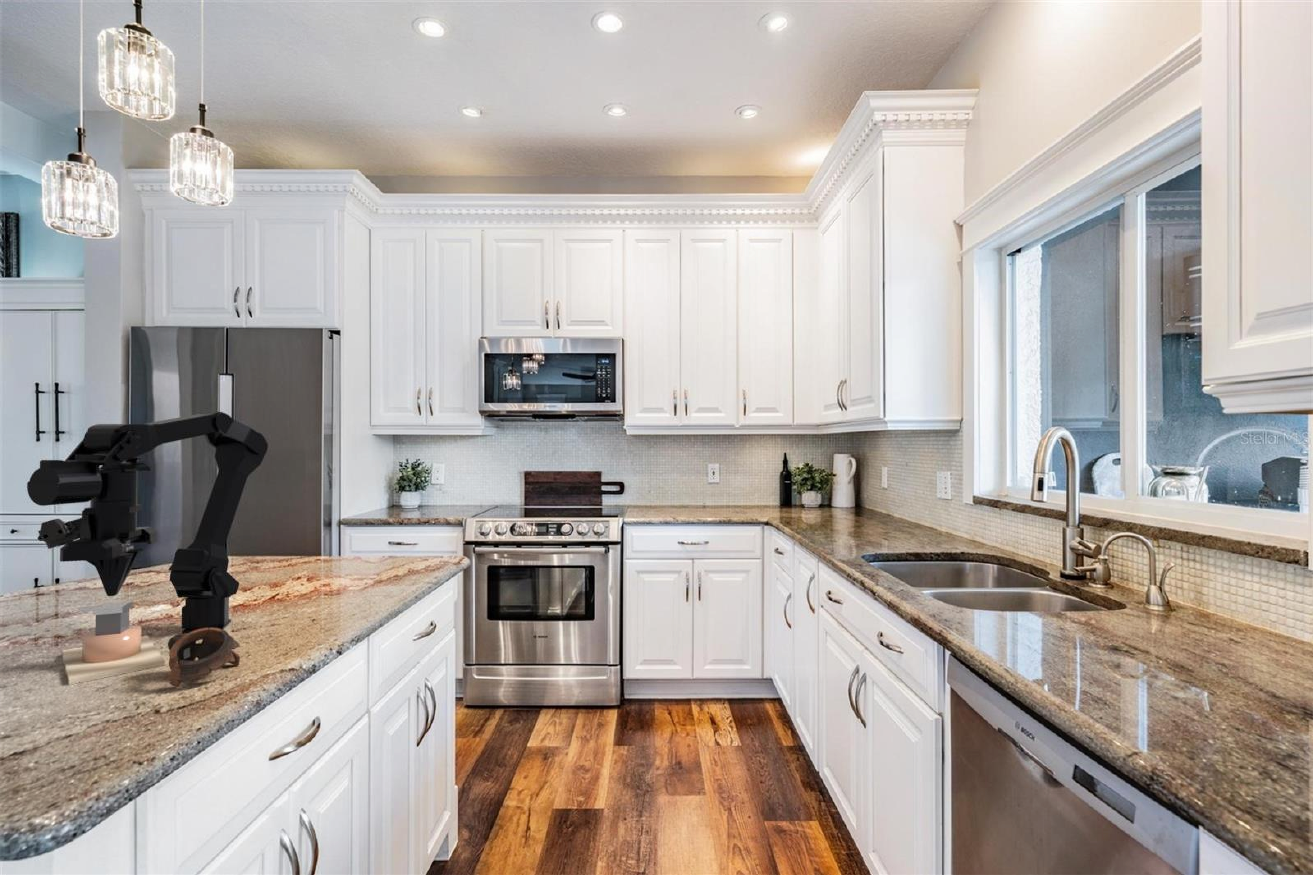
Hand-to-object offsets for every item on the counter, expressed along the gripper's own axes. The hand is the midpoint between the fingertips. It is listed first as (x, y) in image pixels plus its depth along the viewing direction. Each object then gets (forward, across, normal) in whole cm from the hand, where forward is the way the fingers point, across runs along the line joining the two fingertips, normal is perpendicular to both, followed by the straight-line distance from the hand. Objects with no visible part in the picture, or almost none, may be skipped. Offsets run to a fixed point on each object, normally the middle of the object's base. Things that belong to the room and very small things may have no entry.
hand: (112, 595), depth 99 cm
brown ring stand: (+11, +13, +16) cm, 23 cm away
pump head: (+6, 0, -1) cm, 6 cm away
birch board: (+11, 0, 0) cm, 11 cm away
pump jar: (+11, 0, 0) cm, 11 cm away
